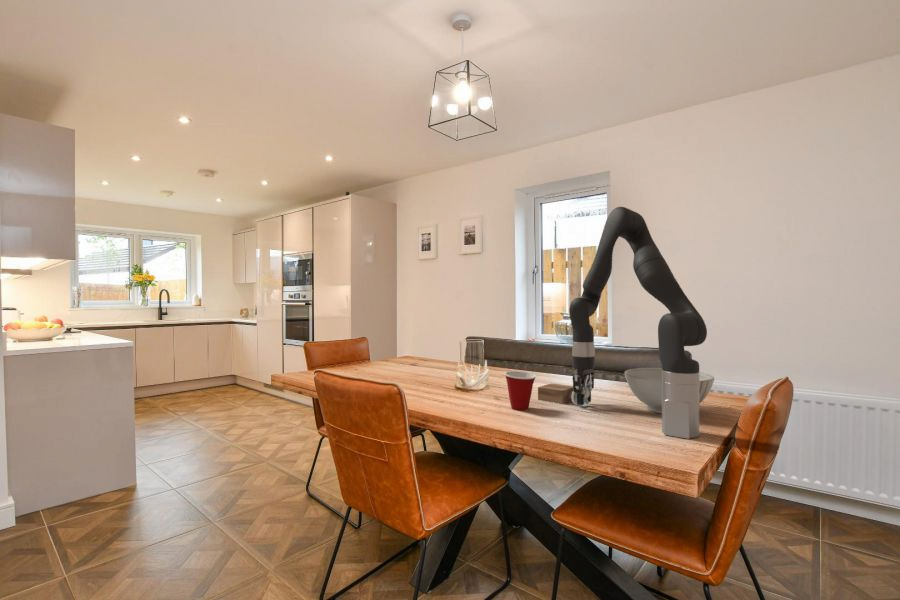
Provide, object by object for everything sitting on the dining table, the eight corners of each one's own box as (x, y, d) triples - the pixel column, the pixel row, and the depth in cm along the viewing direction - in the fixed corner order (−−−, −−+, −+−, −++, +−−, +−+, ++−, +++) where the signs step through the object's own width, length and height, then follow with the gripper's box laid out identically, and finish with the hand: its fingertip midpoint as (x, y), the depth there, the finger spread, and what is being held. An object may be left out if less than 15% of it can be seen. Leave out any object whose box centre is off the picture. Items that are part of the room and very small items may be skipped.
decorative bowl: (707, 426, 132) (707, 384, 132) (614, 412, 148) (614, 375, 148) (719, 408, 153) (719, 372, 153) (636, 397, 169) (636, 365, 169)
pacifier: (569, 405, 157) (587, 409, 156) (571, 398, 152) (590, 403, 151) (573, 386, 161) (590, 390, 159) (575, 379, 156) (593, 383, 154)
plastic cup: (528, 414, 146) (528, 377, 146) (498, 409, 152) (498, 374, 152) (541, 407, 155) (541, 372, 155) (513, 403, 161) (513, 369, 161)
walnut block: (562, 404, 159) (562, 390, 159) (537, 400, 166) (537, 387, 166) (575, 400, 167) (575, 386, 167) (551, 396, 174) (551, 383, 174)
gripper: (586, 357, 149) (586, 408, 149) (601, 353, 160) (602, 401, 160) (564, 356, 154) (565, 405, 153) (581, 352, 165) (581, 398, 165)
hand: (584, 403), depth 157 cm, fingers closed on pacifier, 6 cm apart
